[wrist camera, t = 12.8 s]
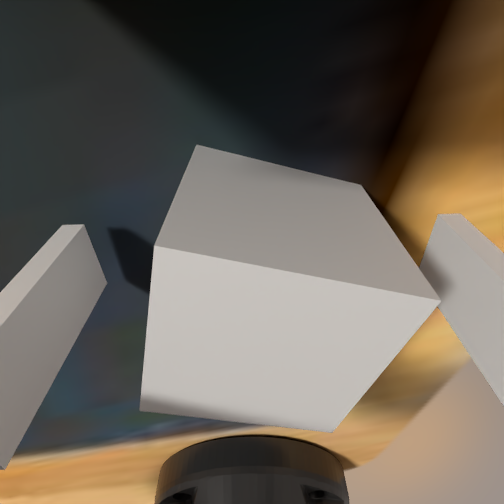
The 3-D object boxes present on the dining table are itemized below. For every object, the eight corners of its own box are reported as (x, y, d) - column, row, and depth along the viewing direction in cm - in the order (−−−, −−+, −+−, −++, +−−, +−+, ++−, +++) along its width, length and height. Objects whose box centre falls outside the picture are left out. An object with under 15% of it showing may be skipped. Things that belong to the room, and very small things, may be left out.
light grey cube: (196, 143, 11) (152, 244, 6) (360, 183, 12) (443, 300, 7) (176, 277, 14) (138, 412, 9) (304, 300, 15) (332, 434, 10)
